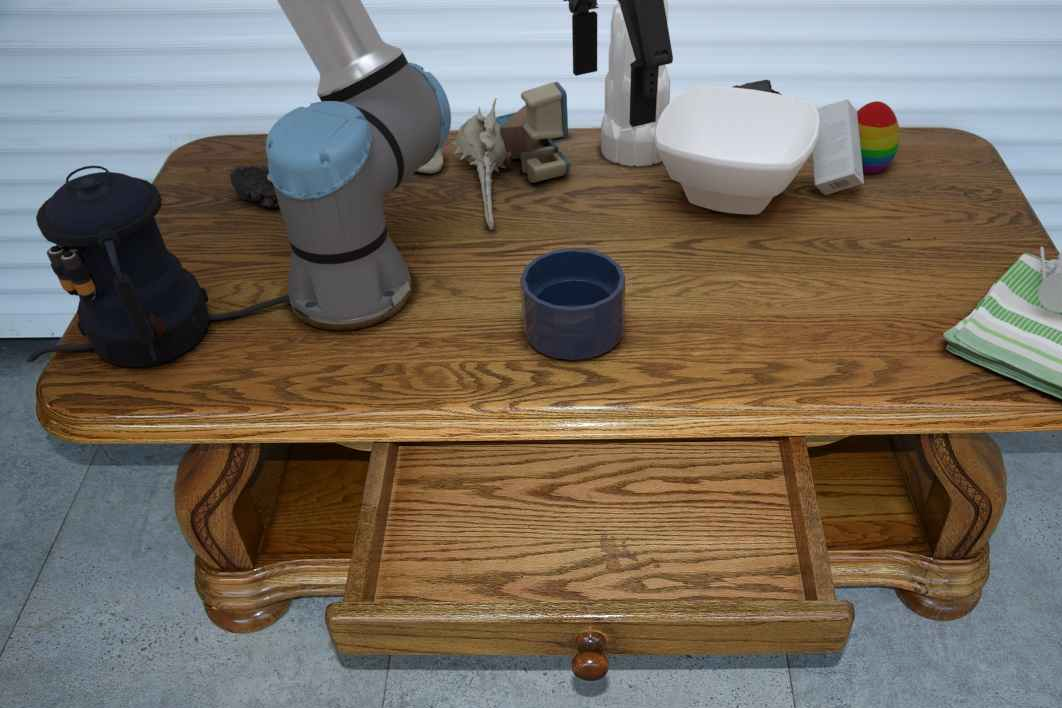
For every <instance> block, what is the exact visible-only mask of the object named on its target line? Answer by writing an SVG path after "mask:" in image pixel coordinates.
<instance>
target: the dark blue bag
mask: <svg viewBox="0 0 1062 708" xmlns="http://www.w3.org/2000/svg"><path fill="white" fill-rule="evenodd" d="M88 169H99V170H103V171H99V172H93V173H88V174H84V175H80V176H78V177H75V178H73V179H70V178H71V177H72V176H73V175H75V174H77V173H78V172H81V171H84V170H88ZM162 200H163V199H162V195H161V194H160V191H159V190H158V188H157V187H156V185H155V184H153V183H151V182H150V181H148V180H146V179H142V178H139V177H135V176H131V175H129V174H125V173H120V172H114V171H109V169H108V168H106V167H104V166H101V165H86V166H82V167H80V168H76V169H74V170H73V171H71V172H69V173H68V175H67V176H66V178H65V183H63V184H62V185H61V186H60V187H59V188H58V189H57V190H56V191H55V192H54V193H53V195H51V196H50V197H49V198H47V200H45V201H44V202H43V204H41V206H40V207H39V208H38V210H37V213H36V216H35V218H36V225H37V227H38V229H39V232H40V233H41V236H43V237H44V239H45V240H46V241H47V242H48V243H52V244H54V245H53V246H51V247H50V248H48V250H47V251H46V255H47V257H48V259H49V261H50V267H51V269H52V272H53V273H54V274H55V275H56V277H57V279H58V282H59V283H60V286H61V289H63V290H64V291H65V292H66V293H68V295H71V296H77V297H78V299H79V301H78V306H77V310H76V313H77V317H78V321H77V323H76V327H77V328H78V330H79V333H80V334H81V335H82V336H83V337H86V339H88V343H90V344H91V346H92V347H93V350H94V351H95V353H96V354H97V355H98V357H100V358H102V359H103V360H104V361H106V362H108V363H111V364H114V365H117V366H120V367H129V368H143V367H144V368H145V367H154V366H157V365H160V364H164V363H167V362H169V361H172V360H174V359H176V358H178V357H181V356H182V355H183V354H185V353H186V352H189V350H191V349H192V348H193V347H194V346H195V345H196V344H197V343H198V342H199V341H200V340H201V339H202V338H203V336H204V334H205V332H206V330H207V329H208V324H209V322H210V321H209V315H210V313H209V307H208V304H207V303H208V302H209V295H208V293H207V290H206V289H205V287H203V286H200V283H199V282H198V280H197V278H196V276H195V275H194V274H192V273H191V272H190V271H189V270H187V269H186V268H184V267H183V264H182V263H181V261H180V260H179V258H178V257H177V255H175V254H174V253H172V251H169V250H168V247H167V246H166V242H165V241H164V238H163V236H162V232H161V230H160V228H159V225H158V222H157V220H156V218H155V217H156V216H157V214H158V213H159V211H160V210H161V208H162V205H163V204H162V203H163V202H162Z"/></svg>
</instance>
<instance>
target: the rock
mask: <svg viewBox="0 0 1062 708" xmlns="http://www.w3.org/2000/svg"><path fill="white" fill-rule="evenodd" d="M229 179H230V180H229V181H230V184H231V186H232V187H233V188H234V190H235V195H236V196H237V197H238V198H240V199H243V200H245V201H248V202H251V203H257V202H258V205H259V206H261V207H266V208H267V209H275V208H278V207H279V203H278V200H277V196H276V193H275V189H274V186H273V183H272V181H271V179H270V175H269V169H268V165H262V164H261V165H260V164H253V163H252V164H249V165H247V166H245V165H244V166H236V167H234V169H233V171H231V172H230V174H229Z"/></svg>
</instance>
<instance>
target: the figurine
mask: <svg viewBox="0 0 1062 708" xmlns="http://www.w3.org/2000/svg"><path fill="white" fill-rule="evenodd" d="M1039 255H1040V258H1041V264H1042V268H1041V269H1040V272H1041V273H1042V276H1043V280H1042V282H1041V284H1040V286H1039V289H1038V298H1039V301H1040V303H1041V304H1042V305H1043V306H1044V307H1045V308H1046V309H1048V310H1050V311H1053V312H1059V313H1062V252H1061V253H1059V254H1058V255H1057V256H1056V259H1055V258H1054V259H1050V260H1048V261H1049V263H1045V260H1046V258H1045V247H1043V246H1040V247H1039ZM1045 265H1046V266H1045ZM1046 267H1047V270H1046ZM1054 269H1055V271H1054V273H1053V274H1051V275H1049V276H1047V277H1046V274H1050V273H1051V272H1052V271H1053V270H1054Z"/></svg>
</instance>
